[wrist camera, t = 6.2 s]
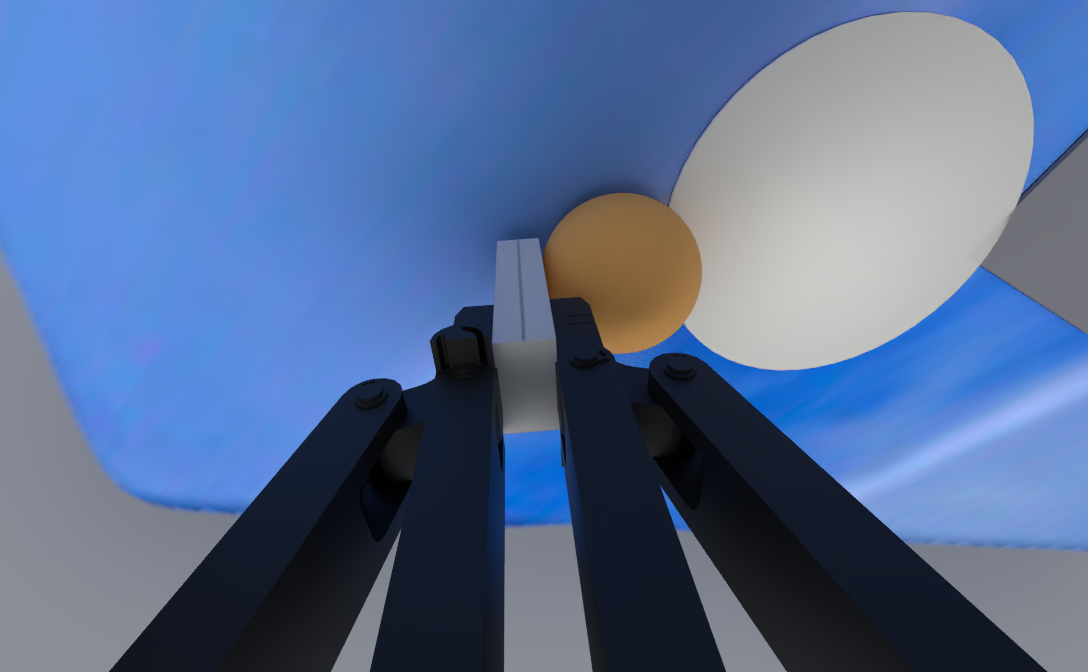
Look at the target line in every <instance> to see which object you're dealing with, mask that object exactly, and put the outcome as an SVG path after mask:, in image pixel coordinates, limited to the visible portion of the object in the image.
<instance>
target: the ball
mask: <svg viewBox="0 0 1088 672" xmlns="http://www.w3.org/2000/svg"><path fill="white" fill-rule="evenodd" d="M542 261H543V267H544V273H545V278H546V284H547V290H548V296H549V299H559V298H572V297H581V298H582V299H583V300H585V301H586V302H587V303H589V304H590V307H591V310H592V313H593V316H594V319H595V323H596V325H597V328H598V331H599V334H600V337H601V340H602V343H603V346H604V348H606V349H608V350H609V351H610V352H611V353H614V354H625V353H633V352H638V351H642V350H645V349H648V348H651V347H653V346H655V345H657V344H659V343H661V342H662V341H664V340H666V339H667V338H669V337H670V336H671V335H672V334H673V333H674V332H676V331H677V330H678V329H679V328H680V327H681V326H682V324H683V323H684V322H685V321H686V319H687V318H688V316H689V315H690V313H691V312H692V310H693V308H694V306H695V304H696V301H697V298H698V295H699V292H700V288H701V282H702V262H701V256H700V251H699V248H698V245H697V242H696V240H695V238H694V236H693V234H692V232H691V230H690V229H689V227H688V226H687V225H686V223H685V222H684V221H683V220H682V218H681V217H680V216H679V215H678V214H677V213H676V212H674V211H673V210H672V209H671V208H669V207H668V206H666V205H665V204H663V203H662V202H660V201H657V200H655V199H653V198H650V197H648V196H644V195H640V194H633V193H612V194H606V195H602V196H598V197H595V198H593V199H590V200H588V201H586V202H584V203H582V204H581V205H579V206H577V207H576V208H575V209H573V210H572V211H571V212H569V213H568V214H567V215H566V216H565V217H564V218H563V219H562V220H561V221H560V222H559V224H558V225H557V226H556V227H555V229H554V231H553V232H552V234H551V236H550V238H549V240H548V242H547V244H546V247H545V250H544V253H543V257H542Z"/></svg>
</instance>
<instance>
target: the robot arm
mask: <svg viewBox="0 0 1088 672" xmlns="http://www.w3.org/2000/svg"><path fill="white" fill-rule="evenodd" d="M430 344H431V349H432V353H433V358H434V363H435V367H436V376H435V379H433V380H432V381H430V382H428V383H426V384H423V385H420V386H418V387H414V388H411V389H407V390H404V391H402V388H401V385H400V384H399V383H397V382H396V381H395V380H391V379H386V378H382V379H372V380H367V381H364V382H361V383H359V384H357V385H355V386H354V387H352V388H350V389H349V390H348V391H347V392H346V393H345V394H343V395H342V397H341V398H340V399H339V400H338V401H337V403H336V404H335V405H334V406H333V407H332V408H331V410H330V411H329V412H328V413H327V414H326V416H325V417H324V418H323V419H322V420H321V421H320V423H319V424H318V425H317V426H316V427H315V429H314V430H313V431H312V432H311V433H310V435H309V436H308V437H307V438H306V439H305V440H304V442H303V443H302V444H301V445H300V446H299V448H298V449H297V450H296V451H295V452H294V453H293V455H292V456H291V457H290V458H289V459H288V461H287V462H286V463H285V464H284V465H283V466H282V468H281V469H280V470H279V471H278V472H277V474H276V475H275V476H274V477H273V478H272V479H271V481H270V482H269V483H268V484H267V485H266V487H265V488H264V489H263V490H262V491H261V492H260V494H259V495H258V496H257V497H256V498H255V500H254V501H253V502H252V503H251V504H250V506H249V507H248V508H247V509H246V510H245V511H244V513H243V514H242V515H241V516H240V517H239V519H238V520H237V521H236V522H235V523H234V525H233V526H232V527H231V528H230V529H229V530H228V532H227V533H226V534H225V535H224V536H223V537H222V539H221V540H220V541H219V542H218V543H217V545H216V546H215V547H214V548H213V549H212V551H211V552H210V553H209V554H208V555H207V556H206V558H205V559H204V560H203V561H202V563H201V564H200V565H199V566H198V567H197V568H196V569H195V571H194V572H193V573H192V574H191V575H190V577H189V578H188V579H187V580H186V581H185V582H184V584H183V585H182V586H181V587H180V588H179V590H178V591H177V592H176V593H175V594H174V595H173V597H172V598H171V599H170V600H169V601H168V603H167V604H166V605H165V606H164V607H163V609H162V610H161V611H160V612H159V613H158V614H157V616H156V617H155V618H154V619H153V620H152V622H151V623H150V624H149V625H148V626H147V628H146V629H145V630H144V631H143V632H142V633H141V635H140V636H139V637H138V638H137V639H136V641H135V642H134V643H133V644H132V645H131V646H130V648H129V649H128V650H127V651H126V652H125V653H124V655H123V656H122V657H121V658H120V659H119V661H118V662H117V663H116V664H115V665H114V667H113V668H112V669H111V670H110V671H109V672H331V670H332V668H333V666H334V664H335V662H336V660H337V658H338V656H339V654H340V652H341V650H342V648H343V646H344V644H345V642H346V639H347V638H348V635H349V634H350V632H351V630H352V627H353V625H354V623H355V621H356V619H357V617H358V615H359V613H360V611H361V609H362V607H363V605H364V603H365V601H366V598H367V597H368V595H369V593H370V591H371V588H372V587H373V585H374V583H375V581H376V578H377V576H378V574H379V572H380V570H381V568H382V566H383V564H384V562H385V560H386V558H387V556H388V554H389V552H390V550H391V548H392V546H393V544H394V542H395V540H396V538H397V536H398V533H399V532H400V530H401V534H400V538H399V542H398V547H397V551H396V556H395V561H394V565H393V569H392V574H391V578H390V583H389V588H388V592H387V596H386V601H385V605H384V611H383V615H382V619H381V624H380V628H379V633H378V637H377V642H376V646H375V651H374V655H373V660H372V664H371V669H370V672H504V561H505V445H504V438H503V431H504V434H512V433H523V432H535V431H547V430H558V429H560V435H561V457H562V466H564V470H565V477H566V484H567V491H568V498H569V506H570V513H571V520H572V527H573V534H574V540H575V548H576V555H577V562H578V570H579V576H580V584H581V591H582V598H583V605H584V612H585V620H586V627H587V634H588V641H589V649H590V655H591V663H592V670H593V672H726V670H725V667H724V665H723V662H722V659H721V656H720V653H719V651H718V648H717V645H716V642H715V639H714V637H713V634H712V631H711V628H710V625H709V622H708V620H707V617H706V614H705V611H704V608H703V605H702V603H701V600H700V597H699V594H698V592H697V589H696V586H695V583H694V580H693V577H692V575H691V572H690V569H689V566H688V564H687V560H686V558H685V555H684V552H683V549H682V546H681V544H680V541H679V538H678V535H677V532H676V530H675V527H674V524H673V521H672V518H671V515H670V513H669V510H668V507H667V504H666V501H665V499H664V496H663V493H662V490H661V487H662V488H663V490H664V491H665V493H666V494H667V496H668V497H669V499H670V500H671V502H672V503H673V505H674V506H675V508H676V509H677V511H678V512H679V514H680V515H681V516H682V518H683V519H684V521H685V522H686V524H687V525H688V527H689V528H690V530H691V531H692V533H693V534H694V535H695V537H696V538H697V540H698V541H699V543H700V544H701V546H702V547H703V549H704V550H705V552H706V553H707V555H708V556H709V558H710V559H711V561H712V562H713V563H714V565H715V567H716V568H717V569H718V571H719V572H720V574H721V575H722V577H723V578H724V580H725V581H726V583H727V584H728V586H729V587H730V589H731V590H732V592H733V593H734V594H735V596H736V597H737V599H738V600H739V602H740V603H741V605H742V606H743V608H744V609H745V610H746V612H747V614H748V615H749V616H750V618H751V619H752V621H753V622H754V624H755V625H756V627H757V628H758V630H759V631H760V633H761V634H762V635H763V637H764V639H765V640H766V641H767V643H768V645H769V646H770V647H771V649H772V650H773V652H774V653H775V655H776V656H777V658H778V659H779V661H780V662H781V664H782V665H783V667H784V668H785V670H786V671H787V672H1047V671H1046V670H1045V669H1043V667H1041V666H1040V665H1039V664H1038V663H1037V662H1036V661H1035V660H1034V659H1033V658H1032V657H1030V656H1029V655H1028V654H1027V653H1026V652H1025V651H1024V650H1023V649H1022V648H1020V647H1019V646H1018V645H1017V644H1016V643H1015V642H1014V641H1013V640H1012V639H1010V638H1009V637H1008V636H1007V635H1006V634H1005V633H1004V632H1003V631H1002V630H1001V629H999V628H998V627H997V626H996V625H995V624H994V623H993V622H992V621H991V620H989V619H988V618H987V617H986V616H985V615H984V614H983V613H982V612H981V611H980V610H978V609H977V608H976V607H975V606H974V605H973V604H972V603H971V602H969V601H968V600H967V599H966V598H965V597H964V596H963V595H962V594H961V593H960V592H959V591H957V590H956V589H955V588H954V587H953V586H952V585H951V584H950V583H949V582H947V581H946V580H945V579H944V578H943V577H942V576H941V575H940V574H939V573H937V572H936V571H935V570H934V569H933V568H932V567H931V566H930V565H929V564H927V563H926V562H925V561H924V560H923V559H922V558H921V557H920V556H919V555H918V554H917V553H915V552H914V551H913V550H912V549H911V548H910V547H909V546H908V545H907V544H905V543H904V542H903V541H902V540H901V539H900V538H899V537H898V536H897V535H896V534H894V533H893V532H892V531H891V530H890V529H889V528H888V527H887V526H886V525H884V524H883V523H882V522H881V521H880V520H879V519H878V518H877V517H876V516H874V515H873V514H872V513H871V512H870V511H869V510H868V509H867V508H866V507H865V506H863V505H862V504H861V503H860V502H859V501H858V500H857V499H856V498H855V497H853V496H852V495H851V494H850V493H849V492H848V491H847V490H846V489H845V488H844V487H842V486H841V485H840V484H839V483H838V482H837V481H836V480H835V479H834V478H832V477H831V476H830V475H829V474H828V473H827V472H826V471H825V470H824V469H823V468H821V467H820V466H819V465H818V464H817V463H816V462H815V461H814V460H813V459H811V458H810V457H809V456H808V455H807V454H806V453H805V452H804V451H803V450H801V449H800V448H799V447H798V446H797V445H796V444H795V443H794V442H793V441H792V440H790V439H789V438H788V437H787V436H786V435H785V434H784V433H783V432H782V431H780V430H779V429H778V428H777V427H776V426H775V425H774V424H773V423H772V422H771V421H769V420H768V419H767V418H766V417H765V416H764V415H763V414H762V413H761V412H759V411H758V410H757V409H756V408H755V407H754V406H753V405H752V404H751V403H750V402H748V401H747V400H746V399H745V398H744V397H743V396H742V395H741V394H740V393H738V392H737V391H736V390H735V389H734V388H733V387H732V386H731V385H730V384H728V383H727V382H726V381H725V380H724V379H723V378H722V377H721V376H720V375H719V374H717V373H716V372H715V371H714V370H713V369H712V368H711V367H710V366H709V365H707V364H706V363H705V362H704V361H702V360H700V359H699V358H697V357H694V356H691V355H688V354H683V353H667V354H662V355H660V356H657V357H655V358H654V359H653V360H652V361H651V362H650V366H649V369H647V368H639V367H632V366H627V365H624V364H621V363H618V362H616V361H615V358H614V356H613V355H612V353H611V352H610V351H609V350H608V349H606V348H604V346H603V343H602V340H601V337H600V334H599V331H598V328H597V325H596V323H595V319H594V316H593V313H592V310H591V307H590V304H589V303H587V302H586V301H585V300H583V299H582V298H581V297H572V298H559V299H549V296H548V290H547V284H546V278H545V273H544V267H543V261H542V255H541V250H540V244H539V238H531V239H518V240H504V241H497V255H496V275H495V295H494V305H485V306H472V307H464V308H463V309H462V310H461V311H460V312H459V313H458V314H457V315H456V316H455V320H454V325H453V326H449V327H447V328H444V329H442V330H440V331H439V332H437V333H436V334H434V335H433V337H432V339H431V340H430ZM659 484H660V485H659ZM660 486H661V487H660ZM401 528H402V529H401Z"/></svg>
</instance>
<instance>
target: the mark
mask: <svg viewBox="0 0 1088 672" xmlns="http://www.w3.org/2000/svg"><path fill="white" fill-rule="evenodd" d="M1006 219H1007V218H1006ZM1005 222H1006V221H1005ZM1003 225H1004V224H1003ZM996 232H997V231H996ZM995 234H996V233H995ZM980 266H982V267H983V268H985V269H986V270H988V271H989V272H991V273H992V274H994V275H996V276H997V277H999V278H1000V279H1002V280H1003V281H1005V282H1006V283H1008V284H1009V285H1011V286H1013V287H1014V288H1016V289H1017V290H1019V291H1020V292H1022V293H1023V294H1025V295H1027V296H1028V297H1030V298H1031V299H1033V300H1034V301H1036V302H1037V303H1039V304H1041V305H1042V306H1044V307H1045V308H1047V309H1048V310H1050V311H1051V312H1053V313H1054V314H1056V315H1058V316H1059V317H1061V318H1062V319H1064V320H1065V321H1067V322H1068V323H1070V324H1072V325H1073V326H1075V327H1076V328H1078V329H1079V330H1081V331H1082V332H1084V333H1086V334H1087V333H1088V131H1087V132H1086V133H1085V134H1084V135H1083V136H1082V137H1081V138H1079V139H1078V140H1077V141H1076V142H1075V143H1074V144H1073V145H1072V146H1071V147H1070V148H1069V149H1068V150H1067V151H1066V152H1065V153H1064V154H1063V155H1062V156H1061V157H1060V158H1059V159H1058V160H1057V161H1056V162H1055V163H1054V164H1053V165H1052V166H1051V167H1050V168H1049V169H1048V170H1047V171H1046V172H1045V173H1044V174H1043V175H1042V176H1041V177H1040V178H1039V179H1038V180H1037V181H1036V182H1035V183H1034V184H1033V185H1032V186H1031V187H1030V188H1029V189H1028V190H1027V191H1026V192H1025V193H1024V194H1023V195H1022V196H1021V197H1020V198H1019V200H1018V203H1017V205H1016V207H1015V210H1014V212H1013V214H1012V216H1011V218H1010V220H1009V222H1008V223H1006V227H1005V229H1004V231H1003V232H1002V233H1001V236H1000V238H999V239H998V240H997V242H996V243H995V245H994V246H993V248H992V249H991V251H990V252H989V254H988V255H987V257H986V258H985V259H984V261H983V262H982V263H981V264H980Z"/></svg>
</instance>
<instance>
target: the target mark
mask: <svg viewBox="0 0 1088 672" xmlns="http://www.w3.org/2000/svg"><path fill="white" fill-rule="evenodd" d="M1033 137H1034V117H1033V110H1032V103H1031V97H1030V94H1029V91H1028V88H1027V85H1026V82H1025V79H1024V76H1023V74H1022V72H1021V71H1020V69H1019V67H1018V65H1017V64H1016V62H1015V60H1014V58H1013V57H1012V56H1011V55H1010V54H1009V52H1008V51H1007V50H1006V49H1005V48H1004V47H1003V46H1002V45H1001V44H1000V43H999V41H998V40H996V39H995V38H993V37H992V36H991V35H989V34H988V33H986V32H985V31H983V30H982V29H981V28H979V27H977V26H975V25H972V24H970V23H968V22H965V21H963V20H960V19H958V18H956V17H951V16H946V15H941V14H936V13H931V12H897V13H890V14H883V15H876V16H869V17H866V18H862V19H859V20H855V21H852V22H848V23H845V24H841V25H839V26H836V27H834V28H832V29H829V30H827V31H825V32H822V33H820V34H818V35H816V36H813V37H811V38H809V39H808V40H806V41H804V42H802V43H801V44H799V45H797V46H796V47H794V48H792V49H790V50H789V51H787V52H785V53H784V54H782V55H781V56H779V57H778V58H777V59H775V60H774V61H773V62H771V63H770V64H769V65H767V66H766V67H765V68H763V69H762V70H761V71H759V72H758V73H757V74H756V75H755V76H754V77H752V78H751V79H750V80H749V81H748V82H747V83H746V84H745V85H744V86H743V87H742V88H741V89H739V90H738V91H737V92H736V93H735V94H734V95H733V96H732V97H731V99H730V100H729V101H728V102H727V103H726V104H725V105H724V107H723V108H722V109H721V110H720V111H719V112H718V113H717V115H716V116H715V117H714V118H713V119H712V121H711V122H710V124H709V125H708V127H707V128H706V129H705V131H704V132H703V134H702V135H701V136H700V138H699V139H698V141H697V142H696V144H695V146H694V148H693V149H692V151H691V153H690V155H689V157H688V158H687V160H686V162H685V164H684V166H683V168H682V170H681V172H680V175H679V177H678V180H677V182H676V184H675V187H674V189H673V192H672V195H671V199H670V202H669V206H668V207H669V208H671V209H672V210H673V211H674V212H676V213H677V214H678V215H679V216H680V217H681V218H682V220H683V221H684V222H685V223H686V225H687V226H688V227H689V229H690V230H691V232H692V234H693V236H694V238H695V240H696V242H697V245H698V248H699V251H700V256H701V262H702V282H701V288H700V292H699V295H698V298H697V301H696V304H695V306H694V308H693V310H692V312H691V313H690V315H689V316H688V318H687V319H686V321H685V322H684V324H685V326H686V327H687V329H688V330H689V331H690V332H691V333H692V334H693V335H694V336H695V337H696V338H697V339H698V340H699V341H700V342H701V343H702V344H704V345H705V346H706V347H708V348H709V349H710V350H712V351H713V352H715V353H717V354H719V355H721V356H723V357H724V358H726V359H729V360H731V361H734V362H737V363H740V364H742V365H746V366H751V367H756V368H760V369H771V370H799V369H807V368H815V367H820V366H824V365H829V364H833V363H837V362H840V361H843V360H846V359H849V358H852V357H855V356H858V355H860V354H863V353H865V352H867V351H870V350H872V349H875V348H877V347H879V346H880V345H882V344H884V343H886V342H888V341H890V340H892V339H894V338H896V337H897V336H899V335H901V334H902V333H904V332H905V331H907V330H908V329H910V328H912V327H913V326H915V325H916V324H918V323H919V322H920V321H922V320H923V319H924V318H926V317H927V316H928V315H930V314H931V313H932V312H934V311H935V310H936V309H937V308H938V307H939V306H941V305H942V304H943V303H944V302H945V301H946V300H947V299H949V298H950V297H951V296H952V295H953V294H954V293H955V292H956V291H957V290H958V289H959V288H960V287H961V286H962V285H963V284H964V283H965V282H966V281H967V280H968V279H969V278H970V276H971V275H972V274H973V273H974V271H975V270H976V269H977V268H978V267H979V265H980V264H981V263H982V262H983V261H984V259H985V258H986V257H987V255H988V254H989V252H990V251H991V249H992V248H993V246H994V245H995V243H996V242H997V240H998V239H999V238H1000V236H1001V233H1002V232H1003V231H1004V229H1005V227H1006V223H1008V222H1009V220H1010V218H1011V216H1012V214H1013V212H1014V210H1015V207H1016V205H1017V203H1018V200H1019V198H1020V196H1021V193H1022V190H1023V187H1024V184H1025V181H1026V177H1027V174H1028V171H1029V167H1030V161H1031V155H1032V149H1033ZM1006 218H1007V219H1006ZM1005 221H1006V222H1005ZM1003 224H1004V225H1003ZM996 231H997V232H996ZM995 233H996V234H995Z"/></svg>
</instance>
